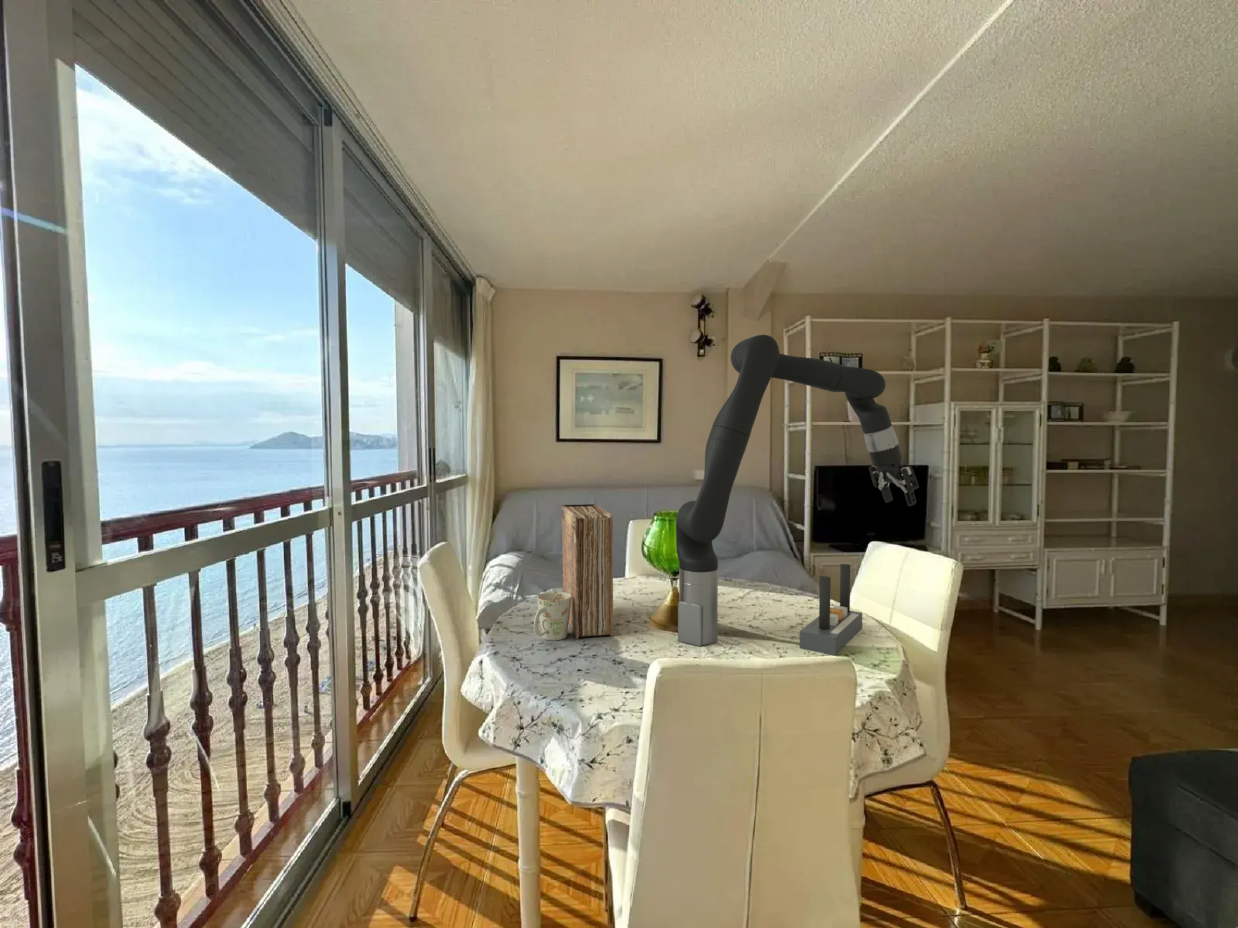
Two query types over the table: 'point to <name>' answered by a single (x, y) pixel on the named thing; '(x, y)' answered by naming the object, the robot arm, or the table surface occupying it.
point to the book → (588, 568)
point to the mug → (553, 615)
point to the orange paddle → (837, 613)
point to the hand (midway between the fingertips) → (900, 503)
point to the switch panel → (831, 632)
